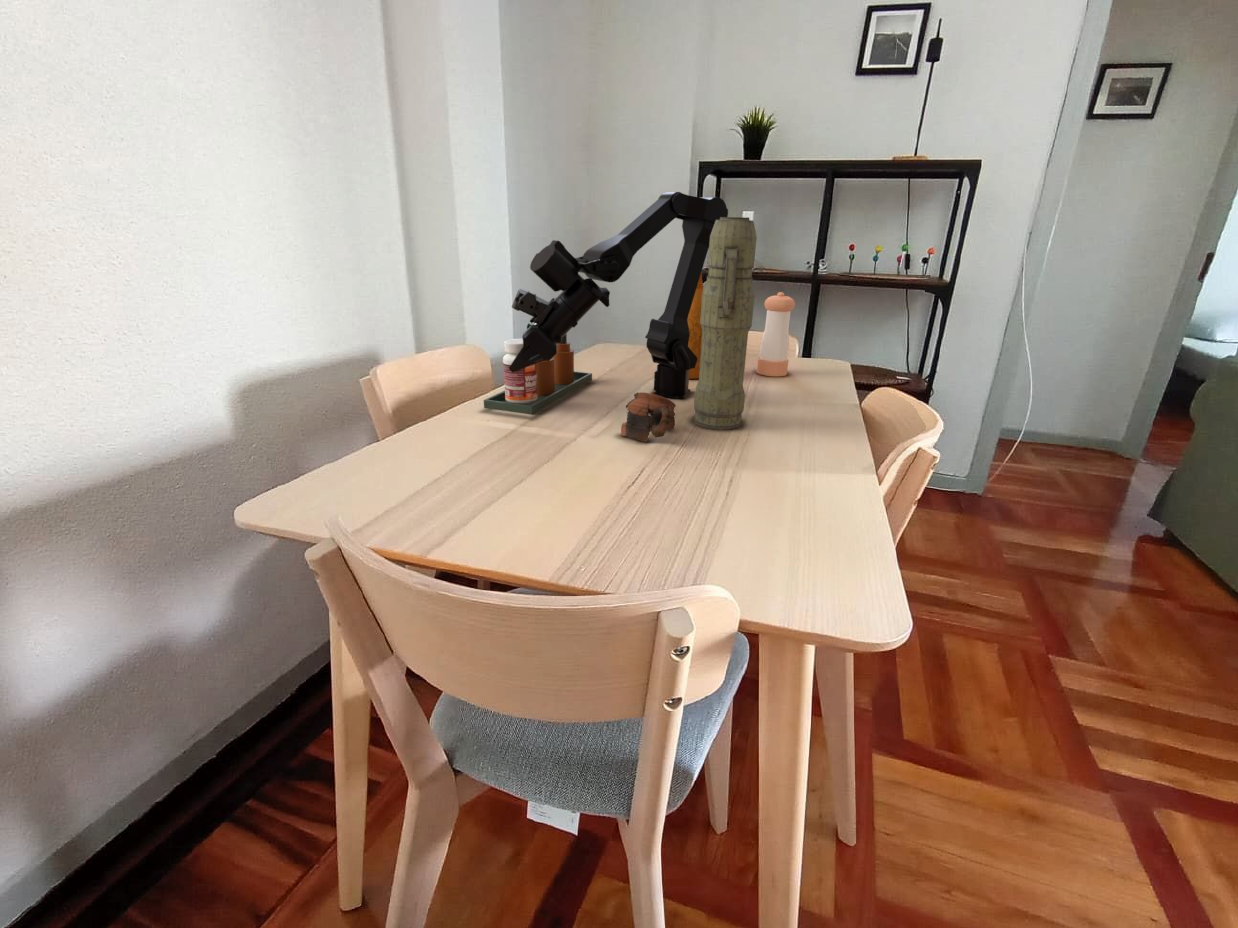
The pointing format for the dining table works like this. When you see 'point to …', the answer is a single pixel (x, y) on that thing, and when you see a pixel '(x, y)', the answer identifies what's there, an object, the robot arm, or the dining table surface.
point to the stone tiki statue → (725, 324)
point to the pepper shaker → (775, 336)
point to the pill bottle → (518, 376)
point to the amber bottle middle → (545, 377)
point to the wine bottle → (696, 328)
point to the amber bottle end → (564, 363)
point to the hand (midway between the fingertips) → (512, 366)
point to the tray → (542, 401)
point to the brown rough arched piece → (642, 422)
